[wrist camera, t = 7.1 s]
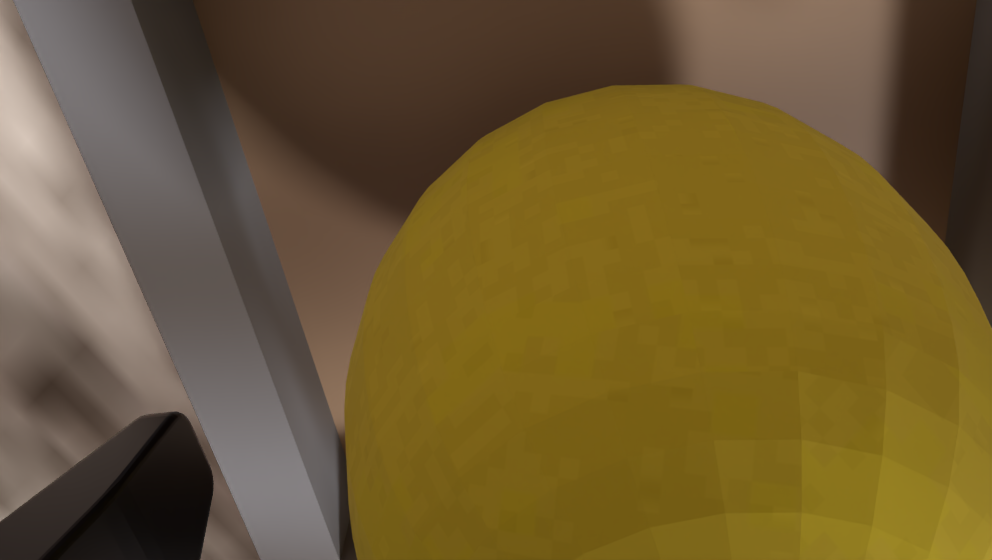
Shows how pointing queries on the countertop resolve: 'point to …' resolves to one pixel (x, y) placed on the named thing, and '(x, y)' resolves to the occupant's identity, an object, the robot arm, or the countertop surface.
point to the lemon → (668, 350)
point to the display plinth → (432, 165)
